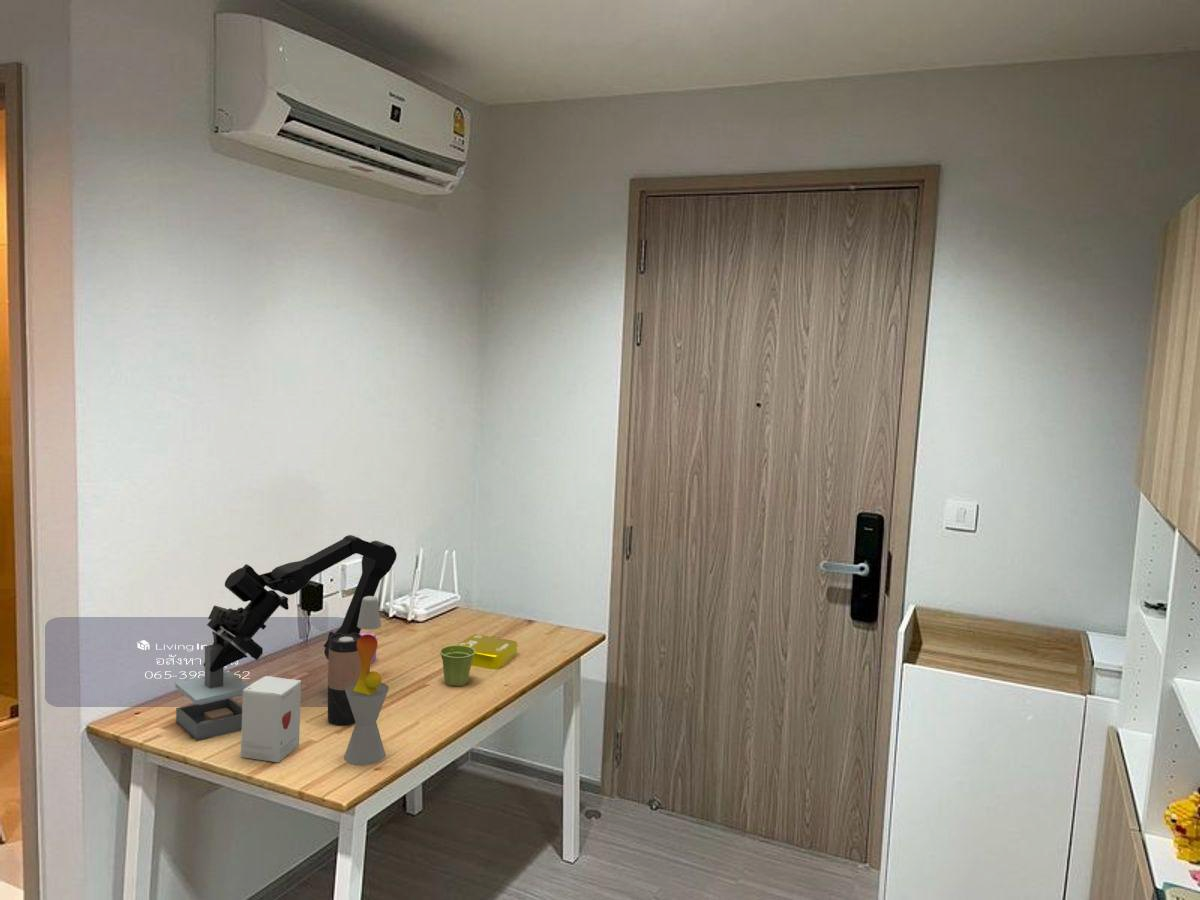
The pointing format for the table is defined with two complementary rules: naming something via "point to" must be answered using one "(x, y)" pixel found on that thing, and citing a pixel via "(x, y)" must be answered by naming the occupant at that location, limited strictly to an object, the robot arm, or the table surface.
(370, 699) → the lava lamp
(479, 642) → the element tile
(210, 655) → the slate lid
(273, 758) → the supplement box
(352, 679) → the travel mug
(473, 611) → the table surface
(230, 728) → the storage box
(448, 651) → the plant pot
